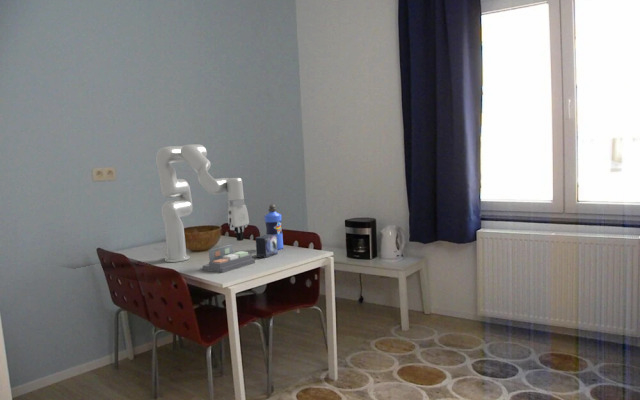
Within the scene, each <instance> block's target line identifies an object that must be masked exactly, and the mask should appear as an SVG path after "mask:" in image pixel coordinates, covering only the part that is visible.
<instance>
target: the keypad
mask: <svg viewBox="0 0 640 400" xmlns="http://www.w3.org/2000/svg"><path fill="white" fill-rule="evenodd" d="M233 246H234V245H233V244H227V245H224V246H219V247H216V248H211V249H208V256H209V257H208V258H209V259H208V260H209V262H208V264H204V265H203V264H202V271H208V272H217V273H223V274H224V273H227V272H230V271H233V270H237V269H239V268H242V267H245V266H248V265H252V264H255V263H256V261H255V258H253V254H250V253H248V255H247V256H243V257H238V258H236V259H233V260H228V261H226V262H222V263H215V262H213V261H215V260H218V259H223V256H225V255H229V254H233V253H234V248H233Z"/></svg>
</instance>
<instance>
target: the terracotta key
mask: <svg viewBox="0 0 640 400" xmlns="http://www.w3.org/2000/svg"><path fill="white" fill-rule="evenodd" d="M226 261H228V260H227V259H218V260H215V261H213V262H215V263H222V262H226Z"/></svg>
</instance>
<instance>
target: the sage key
mask: <svg viewBox="0 0 640 400" xmlns="http://www.w3.org/2000/svg"><path fill="white" fill-rule="evenodd" d="M233 254H237V255H238V257H243V256H247V255H248V254H249V252H248V251H242V250H241V251H237V252H236V251H235V252H233Z"/></svg>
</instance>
